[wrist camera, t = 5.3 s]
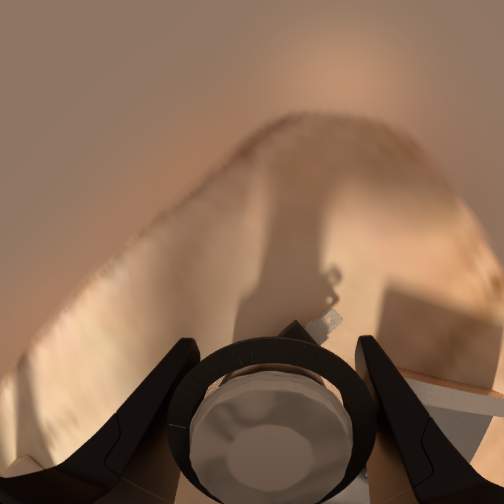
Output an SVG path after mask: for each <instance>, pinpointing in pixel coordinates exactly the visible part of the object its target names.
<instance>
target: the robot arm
mask: <svg viewBox="0 0 504 504" xmlns="http://www.w3.org/2000/svg"><path fill="white" fill-rule="evenodd" d="M199 362H200V352H199V349H198V347H197V344H196V341H195V339H194V338H186V337H183V338H181V339H180V340H179V341H178V342H177V343H176V344H175V345H174V346H173V348H172V349H171V350H170V351H169V352H168V353H167V354H166V355H165V357H164V358H163V359H162V360H161V361H160V362H159V363H158V365H157V366H156V367H155V368H154V369H153V370H152V371H151V373H150V374H149V375H148V376H147V377H146V378H145V379H144V380H143V382H142V383H141V384H140V385H139V386H138V387H137V388H136V390H135V391H134V392H133V393H132V394H131V395H130V396H129V397H128V399H127V400H126V401H125V402H124V403H123V404H122V405H121V406H120V408H119V409H118V410H117V411H116V413H114V414H113V415H112V417H111V418H110V419H109V420H108V421H107V422H106V423H105V424H104V425H103V426H102V427H101V428H100V429H99V430H98V431H97V432H96V433H95V434H94V435H93V436H92V437H91V438H90V439H89V440H88V441H87V442H86V443H84V444H83V445H82V446H81V447H80V448H79V449H78V450H77V451H75V452H74V453H73V454H72V455H71V456H70V457H69V458H67V459H66V460H65V461H64V462H62V463H60V464H59V465H57V466H54V467H52V468H48V469H44V470H40V471H36V472H32V473H28V474H24V475H19V476H15V477H8V478H6V477H3V476H2V475H0V504H173V503H174V501H175V496H176V491H177V486H178V481H179V477H180V472H181V470H180V469H179V467H178V465H177V464H176V462H175V460H174V458H173V455H172V453H171V450H170V447H169V444H168V438H167V429H166V423H167V413H168V408H169V405H170V402H171V399H172V396H173V394H174V392H175V390H176V388H177V387H178V385H179V384H180V382H181V381H182V379H183V378H184V377H185V376H186V375H187V374H188V372H189V371H190V370H192V369H193V368H194V367H195V366H196V365H197V364H198V363H199ZM355 369H356V373H357V374H358V375H359V376H360V378H361V379H362V380H363V381H364V383H365V385H366V386H367V388H368V390H369V391H370V394H371V396H372V399H373V401H374V405H375V409H376V415H377V434H376V440H375V444H374V448H373V450H372V453H371V456H370V458H369V460H368V461H367V463H366V467H367V476H368V485H369V495H370V504H504V487H502V486H499V485H497V484H495V483H492V482H490V481H488V480H486V479H485V478H483V477H482V476H481V475H480V474H478V473H477V472H476V471H475V469H474V468H473V467H472V466H471V465H470V464H469V463H468V461H467V460H466V459H465V458H464V457H463V456H462V455H461V454H460V452H459V451H458V450H457V449H456V448H455V447H454V446H453V444H452V443H451V442H450V441H449V440H448V438H447V437H446V436H445V435H444V433H443V432H442V431H441V429H440V428H439V426H438V425H437V424H436V422H435V421H434V419H433V418H432V417H431V416H430V414H429V412H428V411H427V409H426V408H425V407H424V405H423V404H422V402H421V401H420V400H419V398H418V397H417V395H416V394H415V393H414V391H413V390H412V388H411V387H410V386H409V384H408V383H407V382H406V380H405V379H404V377H403V376H402V375H401V373H400V372H399V371H398V369H397V368H396V367H395V365H394V364H393V362H392V361H391V360H390V358H389V357H388V356H387V354H386V353H385V352H384V350H383V349H382V348H381V346H380V345H379V344H378V342H377V341H376V340H375V338H374V337H373V336H371V335H362V336H359V338H358V341H357V346H356V350H355Z"/></svg>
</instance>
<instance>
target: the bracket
mask: <svg viewBox="0 0 504 504" xmlns="http://www.w3.org/2000/svg"><path fill="white" fill-rule="evenodd" d="M396 368H397V367H396ZM397 369H398V371H399V372H400V373H401V375H402V376H403V377H404V379H405V380H406V382H407V383H408V384H409V386H410V387H411V388H412V390H413V391H414V393H415V394H416V395H417V397H418V398H419V400H420V401H421V402H422V404H423V405H424V407H425V408H426V409H427V411H428V412H429V414H430V416H431V417H432V418H433V419H434V421H435V422H436V424H437V425H438V426H439V428H440V429H441V431H442V432H443V433H444V435H445V436H446V437H447V438H448V440H449V441H450V442H451V443H452V444H453V446H454V447H455V448H456V449H457V450H458V451H459V452H460V454H461V455H462V456H463V457H464V458H465V459H466V460H467V461H468V463H470V462H471V460H472V458H473V456H474V454H475V453H476V451H477V449H478V447H479V445H480V443H481V441H482V439H483V437H484V435H485V433H486V431H487V429H488V426H489V424H490V422H491V420H492V418H493V416H498V417H504V395H503V394H501V393H499V392H496V391H494V390H491V389H486V388H481V387H476V386H471V385H467V384H462V383H458V382H453V381H449V380H445V379H440V378H436V377H432V376H428V375H424V374H420V373H416V372H412V371H408V370H405V369H401V368H397ZM321 504H370V495H369V485H368V476H367V467H366V465H365V467H364V468H363V470H362V471H361V472H360V474H359V475H358V476H357V477H356V478H355V480H354V481H353V482H352V483H351V484H350V485H349V486H348V487H346V488H345V489H344V490H343V491H341V492H340V493H339V494H337V495H336V496H334V497H333V498H331V499H329V500H327V501H325V502H323V503H321Z"/></svg>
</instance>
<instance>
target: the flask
mask: <svg viewBox="0 0 504 504" xmlns="http://www.w3.org/2000/svg"><path fill="white" fill-rule="evenodd" d="M40 470H44V469H42V468H41V467H40V466H39V465H38V464H37V463H36V462H35V461H33V460H32V459H31V458H30V457H29V456H28V455H27V456H24V457H21V458H18V459H16V460H15V461H14V462H13V463H12V464H11V466H10V467H9V468H8V470H7V471H6V473H5V474H4V475H3V477H6V478H8V477H15V476H19V475H24V474H28V473H32V472H36V471H40Z"/></svg>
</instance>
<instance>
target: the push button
mask: <svg viewBox="0 0 504 504" xmlns="http://www.w3.org/2000/svg"><path fill="white" fill-rule="evenodd" d="M329 317H331V319H332V320H331V322H330V323H327V322H326V321H327V318H329ZM342 321H343V318H342V317H341V316H340V315H339V314H338V313H337V312H336V310H335V309H331V308H328V309H327V310H326V311H325V312H324V313H323V314H322V315H321V316H319V317H318V318H317V319H316V320H315V321H313V320H310V321H309V322H308V323H307V324H306V325H305V326H304V327H303V326H302V325H301V324H300V323H299V322H298V321H297V320H295V321H293V322H292V323H291V324H290V325H289V326H287V327H286V328H285V329H284V330H283V331H282V332H281V334H280V335H279V336H278V337H260V338H252V339H247V340H243V341H239V342H236V343H233V344H230V345H228V346H225V347H223V348H221V349H219V350H217V351H215V352H214V353H212V354H210V355H209V356H207V357H206V358H205V359H203V360H202V361H201V362H199V363H198V364H197V365H196V366H195V367H194V368H193V369H192V370H190V371H189V372H188V374H187V375H186V376H185V377H184V378H183V379H182V381H181V382H180V384H179V385H178V387H177V388H176V390H175V392H174V394H173V396H172V399H171V402H170V405H169V408H168V413H167V423H166V429H167V438H168V444H169V447H170V450H171V453H172V455H173V458H174V460H175V462H176V464H177V465H178V467H179V469H180V470H181V471H182V473H183V474H184V476H185V477H186V478H187V479H188V480H189V481H190V482H191V483H192V484H193V485H194V486H195V487H196V488H197V489H198V490H200V491H201V492H202V493H204V494H205V495H206V496H208V497H210V498H211V499H213V500H215V501H217V502H219V503H221V504H321V503H323V502H325V501H327V500H329V499H331V498H333V497H334V496H336V495H337V494H339V493H340V492H341V491H343V490H344V489H345V488H346V487H348V486H349V485H350V484H351V483H352V482H353V481H354V480H355V478H356V477H357V476H358V475H359V474H360V472H361V471H362V470H363V468H364V467H365V465H366V463H367V461H368V460H369V458H370V456H371V453H372V450H373V448H374V444H375V440H376V434H377V415H376V409H375V405H374V401H373V399H372V396H371V394H370V391H369V390H368V388H367V386H366V385H365V383H364V381H363V380H362V379H361V378H360V376H359V375H358V374H357V373H356V372H355V371H354V370H353V369H352V368H351V367H350V366H349V365H348V364H347V363H346V362H345V361H344V360H342V359H341V358H340V357H339V356H337V355H335V354H334V353H332V352H331V351H329V350H327V349H325V348H323V347H321V346H320V345H321V344H322V343H323V342H324V341H326V340H327V339H328V336H327V335H328V334H329V333H330V332H331V331H332V330H333V329H334V328H336V327H337V326H338V325H339V324H340V323H341V322H342ZM226 374H227V375H226ZM224 375H226V376H225V378H224V379H223V381H222V382H221V384H220V385H219V388H217V389H216V390H214V391H213V392H211V393H210V394H208V396H207V397H206V398H205V399H204V396H205V394H206V391H207V389H208V387H209V386H210V385H211V384H212V383H214V382H215V381H216V380H218V379H219V378H221V377H223V376H224ZM321 376H322V377H323V378H325V379H327V380H328V381H329V382H330V383H332V384H333V385H334V386H335V387H336V388H337V389H338V390H339V391H340V393H341V396H342V400H343V405H342V403H341V402H340V400H339V399H338V397H337V396H336V395H335V394H334V393H333V392H331V391H330V390H328V389H327V388H326V386H325V384H324V382H323V380H322V378H321ZM343 406H344V407H343Z"/></svg>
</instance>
